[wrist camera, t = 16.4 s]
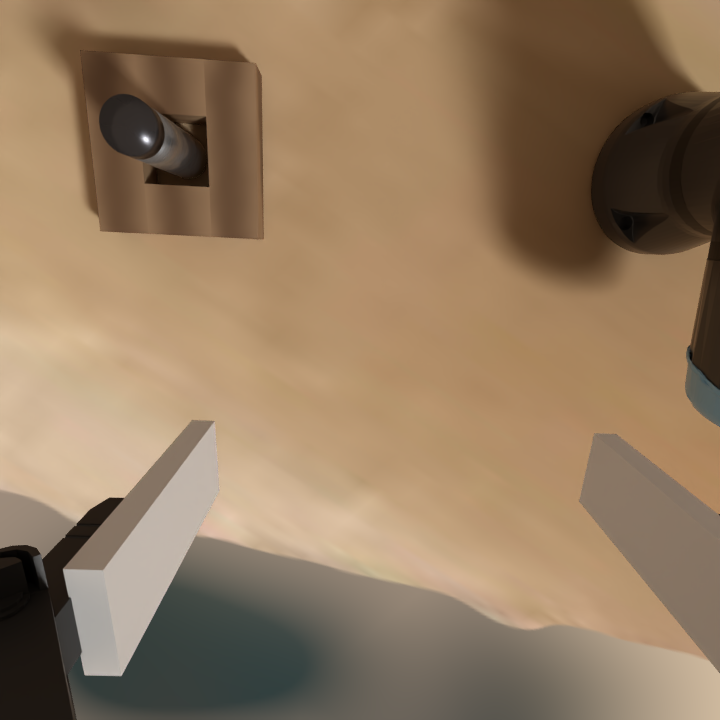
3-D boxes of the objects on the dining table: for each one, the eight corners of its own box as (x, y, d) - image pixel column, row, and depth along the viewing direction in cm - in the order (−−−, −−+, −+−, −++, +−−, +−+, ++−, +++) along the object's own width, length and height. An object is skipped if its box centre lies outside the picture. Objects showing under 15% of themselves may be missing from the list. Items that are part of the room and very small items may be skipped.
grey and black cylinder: (206, 136, 41) (154, 95, 30) (208, 180, 43) (158, 157, 31) (164, 133, 41) (95, 91, 30) (167, 177, 42) (102, 153, 31)
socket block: (261, 75, 40) (255, 63, 37) (263, 239, 44) (258, 239, 41) (99, 64, 39) (80, 50, 37) (116, 231, 43) (100, 231, 41)
